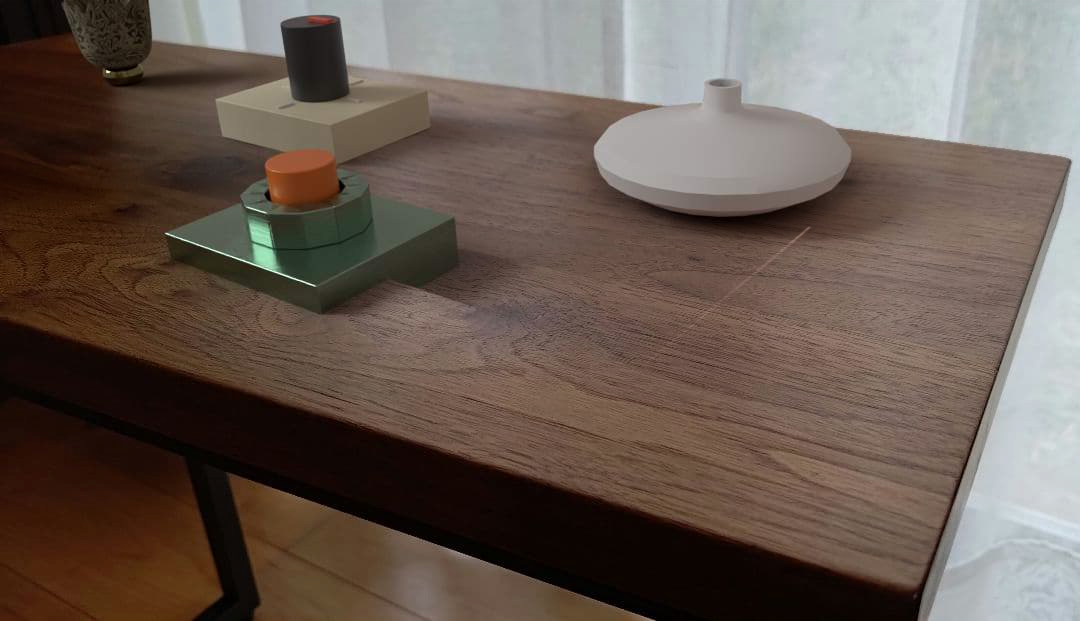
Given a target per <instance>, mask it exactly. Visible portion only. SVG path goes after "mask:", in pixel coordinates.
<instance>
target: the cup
mask: <svg viewBox="0 0 1080 621" xmlns="http://www.w3.org/2000/svg"><path fill="white" fill-rule="evenodd" d="M61 6H62V9H63V10H64V13H65V16H66V19H67V20H68V24H69V26H70V29H71V32H72V35H73V36H74V39H75V42H76V44H77V46H78V48H79V50H80V52H81V54H82V55H83V57H84V58H85V59H86V60H87V61H88V62H89V63H90V64H92V65H93V66H95V67H97V68H100V69H102V73H101V74H102V75H101V76H102V79H103V80H104V81H105V83H107V84H109V85H112V86H127V85H133V84H135V83H136V84H137V83H138V82H140V81H141V80H142V79H143V78H144V74H145V70H144V68H143V66H142V65H141V63H143V62H144V61H146V60H147V58H148V57H149V55H150V54H151V51H152V47H153V29H152V18H151V8H150V0H63V1H61Z"/></svg>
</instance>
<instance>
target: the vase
mask: <svg viewBox="0 0 1080 621" xmlns="http://www.w3.org/2000/svg"><path fill="white" fill-rule="evenodd" d="M742 84H743V82H741V81H740V80H738V79H734V78H728V77H727V78H724V77H722V78H721V77H719V78H711V79H708V80H706V81H705V82H704V84H703V96H702V99H703V100H702V102H693V103H692V102H691V103H684V104H683V103H682V104H675V105H674V104H673V105H665V106H660V107H656V108H651V109H646V110H642V111H638V112H636V113H633V114H630V115H628V116H625V117H622V118H621V119H619V120H617V121H616V122H614V123H612V124H611V125H609V126H608V128H607V129H606V130H605V131H604V133H602V135H601V136H600V138H599V139H598V140H597V142H596V143H595V144H594V145H593V157H594V160H595V163H596V166H597V169H598V171H599V174H600V176H601V177H602V178H603V179H604V180H605V181H606V183H607V184H608V185H609V186H610V187H612V188H614V189H615V190H618V191H619V192H621V193H623V194H625V195H627V196H629V197H631V198H634V199H637V200H640V201H642V202H644V203H647V204H649V205H653V206H654V207H658V208H661V209H665V210H668V211H671V212H676V213H681V214H686V215H692V216H702V217H703V216H704V217H717V218H720V217H721V218H722V217H746V216H747V217H748V216H753V215H760V214H762V215H763V214H767V213H771V212H775V211H779V210H782V209H786V208H789V207H791V206H792V207H793V206H795V205H798V204H801V203H804V202H808V201H811V200H814V199H816V198H818V197H819V196H822V195H824V194H826V193H827V192H830V191H831V190H833V189H834V188H835V187H836V186H837V185H838V184H839V183H840V182H841V181H842V179H843V178H844V176H845V174H846V173H847V170H848V168H849V166H850V164H851V160H852V149H851V147H850V146H849V145H848V143H847V142H846V140H845V139H844V138H843V137H842V135H841V134H840V133H839V131H838V130H837V129H836V127H834V126H833V125H831V124H830V123H828V122H826V121H824V120H822V119H821V118H819V117H815V116H812V115H809V114H807V113H803V112H801V111H796V110H792V109H787V108H782V107H777V106H771V105H762V104H755V103H743V102H742V86H743V85H742Z"/></svg>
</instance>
